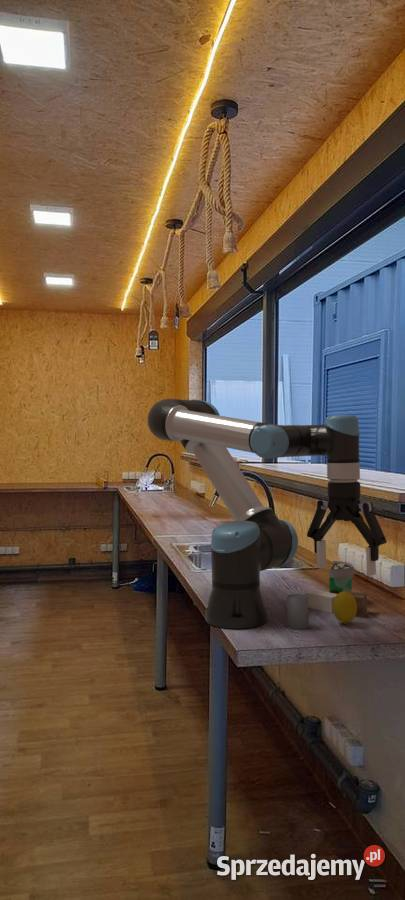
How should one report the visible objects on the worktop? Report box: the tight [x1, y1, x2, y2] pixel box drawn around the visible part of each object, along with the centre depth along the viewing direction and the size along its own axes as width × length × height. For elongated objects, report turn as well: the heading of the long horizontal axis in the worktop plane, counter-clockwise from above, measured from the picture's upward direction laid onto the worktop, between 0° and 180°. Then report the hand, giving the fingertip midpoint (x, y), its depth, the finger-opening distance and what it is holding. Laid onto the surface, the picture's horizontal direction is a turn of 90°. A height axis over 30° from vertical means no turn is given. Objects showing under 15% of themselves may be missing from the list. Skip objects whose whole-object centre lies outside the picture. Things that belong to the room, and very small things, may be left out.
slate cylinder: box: [286, 593, 310, 631], centre depth 148 cm, size 5×5×7 cm
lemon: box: [332, 590, 357, 625], centre depth 149 cm, size 6×6×8 cm
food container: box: [328, 560, 356, 594], centre depth 168 cm, size 12×6×10 cm, turn 163°
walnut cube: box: [347, 591, 368, 619], centre depth 158 cm, size 5×5×5 cm
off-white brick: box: [305, 589, 337, 614], centre depth 163 cm, size 4×8×4 cm, turn 45°
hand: (345, 571), depth 149 cm, fingers open, 13 cm apart
